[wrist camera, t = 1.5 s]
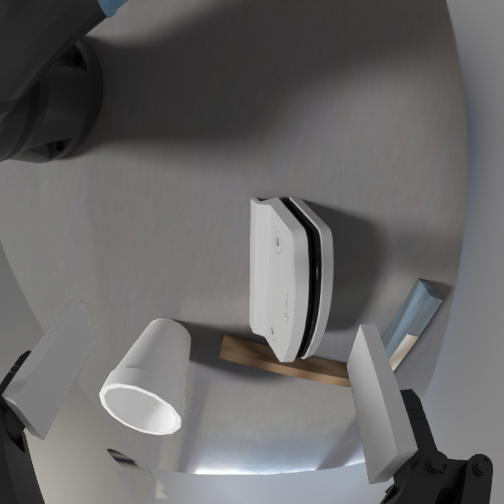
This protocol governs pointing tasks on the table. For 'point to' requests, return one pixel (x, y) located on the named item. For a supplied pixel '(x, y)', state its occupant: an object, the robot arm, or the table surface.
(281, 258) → the white piece
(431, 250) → the table surface
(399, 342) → the wooden handled mallet
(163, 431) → the foam cup
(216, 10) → the table surface
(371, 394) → the robot arm
